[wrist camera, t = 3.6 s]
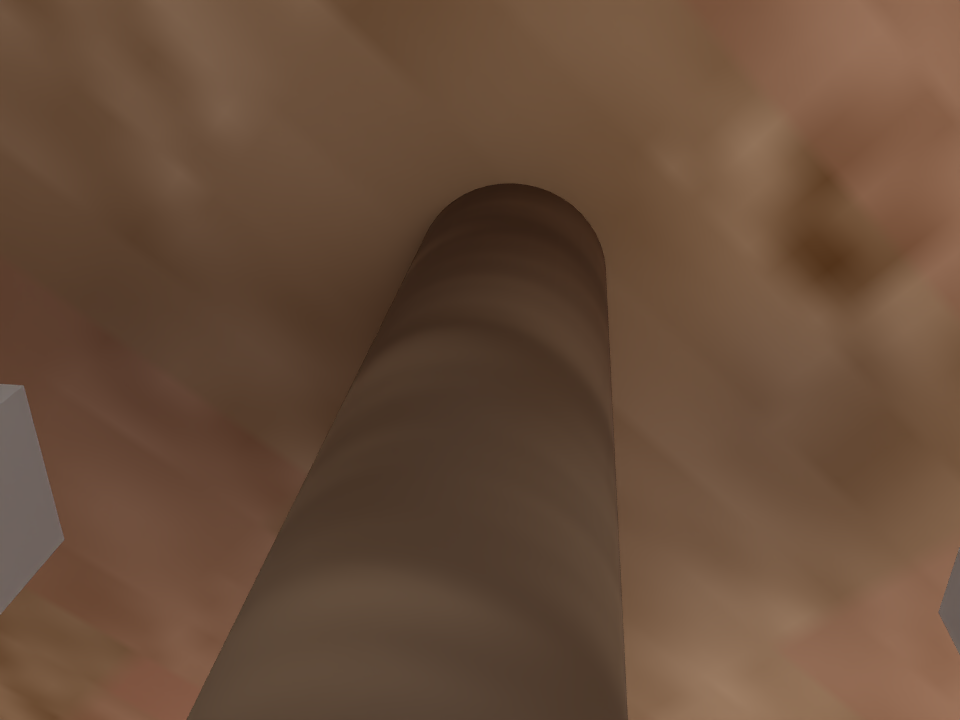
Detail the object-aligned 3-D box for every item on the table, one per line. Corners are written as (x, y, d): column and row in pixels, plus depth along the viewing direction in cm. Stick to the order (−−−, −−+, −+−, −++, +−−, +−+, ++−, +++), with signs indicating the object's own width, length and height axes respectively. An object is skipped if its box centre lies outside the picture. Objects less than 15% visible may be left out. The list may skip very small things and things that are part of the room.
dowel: (420, 353, 20) (134, 1119, 7) (415, 180, 18) (17, 811, 5) (598, 363, 19) (618, 1190, 7) (613, 187, 17) (675, 884, 5)
